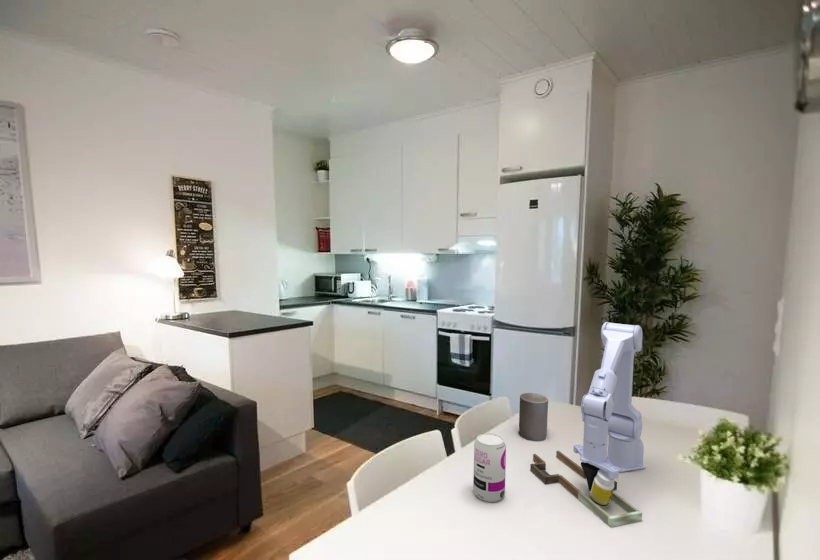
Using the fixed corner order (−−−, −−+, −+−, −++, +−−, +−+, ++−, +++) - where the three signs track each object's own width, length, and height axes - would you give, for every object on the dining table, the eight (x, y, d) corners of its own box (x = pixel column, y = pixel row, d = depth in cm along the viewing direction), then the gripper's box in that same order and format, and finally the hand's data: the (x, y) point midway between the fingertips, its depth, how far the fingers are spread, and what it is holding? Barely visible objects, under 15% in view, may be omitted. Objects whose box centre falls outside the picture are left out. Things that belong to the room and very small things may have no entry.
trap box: (569, 455, 129) (570, 449, 129) (655, 518, 98) (656, 510, 98) (520, 462, 125) (521, 455, 125) (595, 530, 94) (595, 522, 94)
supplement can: (506, 488, 110) (507, 434, 109) (502, 506, 102) (504, 448, 102) (476, 483, 113) (477, 430, 112) (470, 499, 105) (471, 443, 104)
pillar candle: (512, 432, 146) (513, 391, 145) (532, 427, 150) (533, 387, 149) (533, 443, 137) (534, 400, 136) (553, 437, 142) (554, 395, 141)
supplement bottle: (610, 511, 101) (618, 485, 99) (589, 504, 103) (597, 479, 100) (607, 496, 106) (615, 470, 103) (588, 490, 107) (595, 465, 104)
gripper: (564, 430, 112) (562, 478, 112) (602, 455, 98) (600, 510, 98) (586, 428, 113) (584, 475, 114) (626, 452, 99) (624, 505, 100)
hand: (593, 491), depth 106 cm, fingers closed, pressing on supplement bottle
